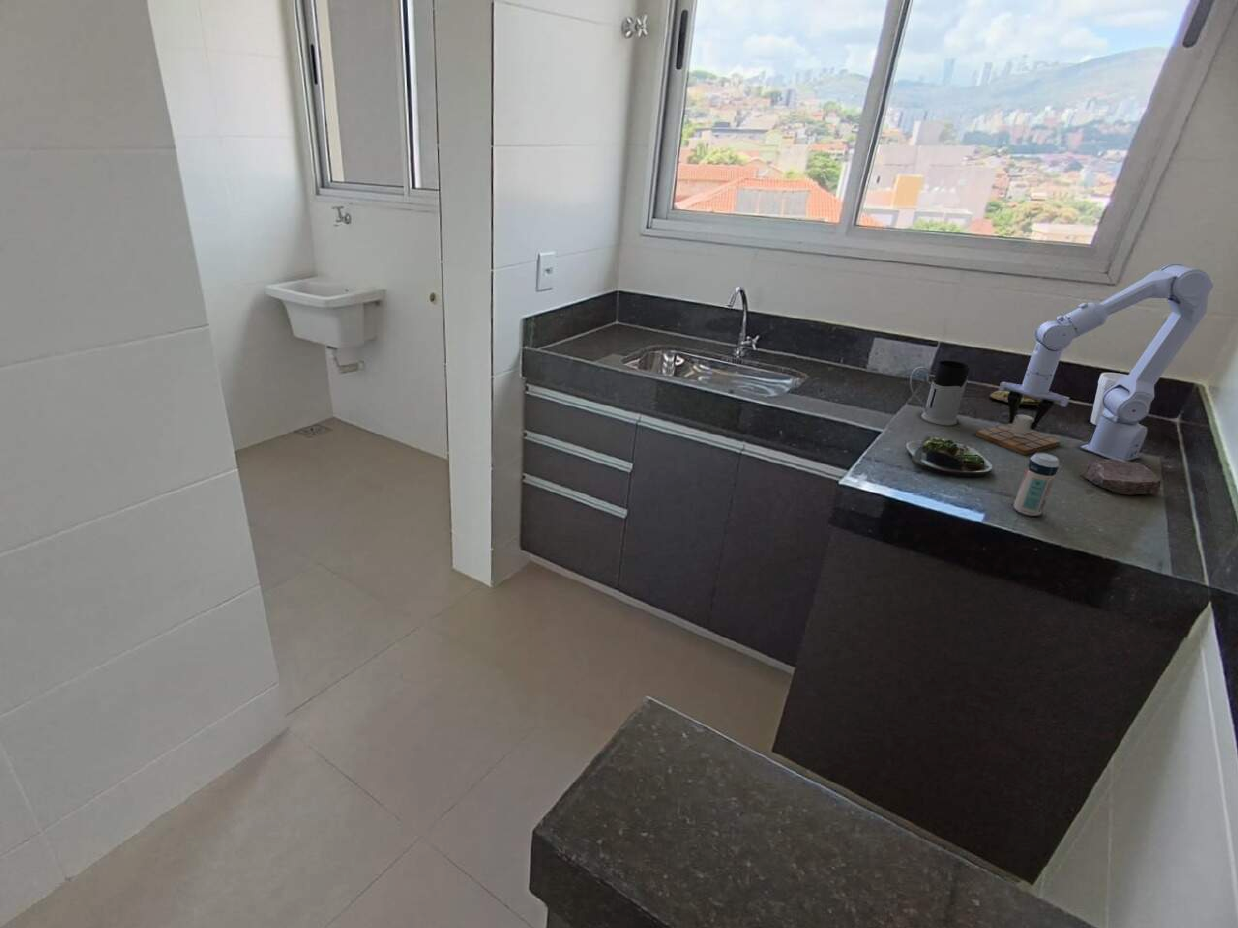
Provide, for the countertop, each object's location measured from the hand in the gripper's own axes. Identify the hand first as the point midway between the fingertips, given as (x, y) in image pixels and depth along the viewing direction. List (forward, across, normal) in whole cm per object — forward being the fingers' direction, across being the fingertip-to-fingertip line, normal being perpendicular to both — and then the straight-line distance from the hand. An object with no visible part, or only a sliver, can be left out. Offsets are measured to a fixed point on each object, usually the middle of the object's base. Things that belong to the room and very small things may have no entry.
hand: (1022, 425), depth 162 cm
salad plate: (+4, +7, +29) cm, 30 cm away
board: (+4, 0, 0) cm, 4 cm away
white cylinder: (+1, 0, 0) cm, 1 cm away
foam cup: (+4, -13, -33) cm, 36 cm away
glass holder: (+4, +21, +2) cm, 22 cm away
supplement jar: (+4, -12, +40) cm, 42 cm away
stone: (+4, -23, +11) cm, 26 cm away
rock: (+4, +9, -33) cm, 34 cm away
